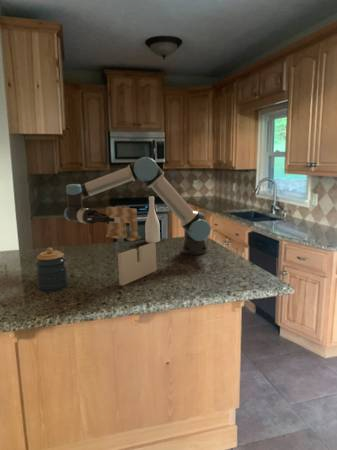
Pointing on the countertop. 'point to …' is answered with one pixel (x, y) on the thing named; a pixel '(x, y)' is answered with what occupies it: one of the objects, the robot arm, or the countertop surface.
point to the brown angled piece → (122, 223)
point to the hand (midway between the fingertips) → (122, 219)
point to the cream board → (136, 263)
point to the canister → (51, 271)
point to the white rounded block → (152, 224)
